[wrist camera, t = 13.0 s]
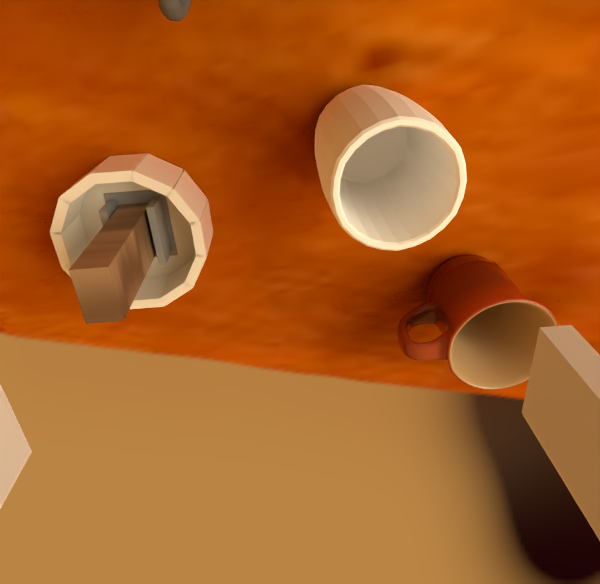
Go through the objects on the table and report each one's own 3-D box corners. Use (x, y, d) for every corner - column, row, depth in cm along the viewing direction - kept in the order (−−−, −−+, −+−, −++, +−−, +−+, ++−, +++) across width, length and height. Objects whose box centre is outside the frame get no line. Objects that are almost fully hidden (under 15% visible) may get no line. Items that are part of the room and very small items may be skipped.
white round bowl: (57, 159, 40) (31, 178, 36) (199, 149, 41) (190, 165, 36) (95, 284, 46) (76, 313, 42) (220, 275, 46) (214, 302, 42)
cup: (411, 180, 43) (467, 249, 30) (314, 190, 43) (329, 263, 30) (413, 72, 38) (479, 102, 26) (305, 84, 38) (319, 118, 26)
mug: (508, 235, 46) (565, 290, 37) (505, 315, 50) (555, 381, 41) (378, 257, 46) (403, 316, 37) (386, 334, 50) (410, 403, 41)
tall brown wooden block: (120, 204, 41) (68, 270, 31) (150, 202, 42) (108, 267, 31) (131, 248, 43) (86, 323, 33) (160, 246, 43) (123, 320, 33)
